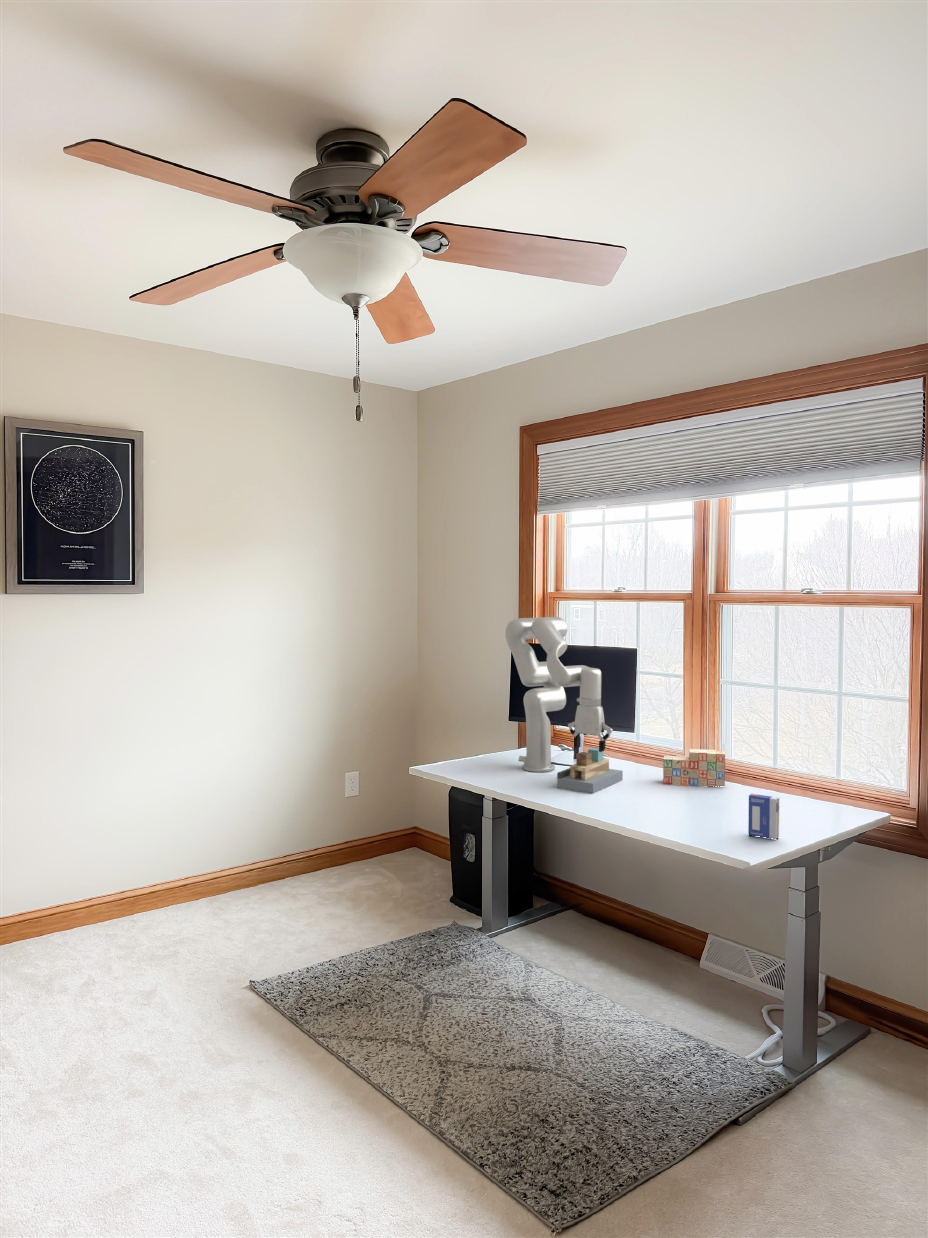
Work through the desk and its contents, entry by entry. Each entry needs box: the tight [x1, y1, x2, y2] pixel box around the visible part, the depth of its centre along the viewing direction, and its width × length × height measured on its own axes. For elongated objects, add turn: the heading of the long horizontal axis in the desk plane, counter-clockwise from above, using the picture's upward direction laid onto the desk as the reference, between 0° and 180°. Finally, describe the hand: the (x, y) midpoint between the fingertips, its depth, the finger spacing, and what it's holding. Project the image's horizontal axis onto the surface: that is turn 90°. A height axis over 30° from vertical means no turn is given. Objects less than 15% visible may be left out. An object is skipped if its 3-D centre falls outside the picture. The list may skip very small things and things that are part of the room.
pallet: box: [569, 757, 610, 781], centre depth 300 cm, size 6×19×4 cm, turn 145°
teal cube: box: [587, 747, 604, 762], centre depth 303 cm, size 4×4×4 cm
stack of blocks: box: [662, 748, 726, 788], centre depth 299 cm, size 21×6×12 cm, turn 74°
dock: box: [556, 767, 624, 795], centre depth 300 cm, size 14×24×6 cm, turn 145°
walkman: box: [747, 793, 780, 839], centre depth 236 cm, size 8×3×12 cm, turn 55°
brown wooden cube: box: [575, 751, 592, 766], centre depth 296 cm, size 4×4×4 cm
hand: (589, 749), depth 300 cm, fingers open, 9 cm apart
